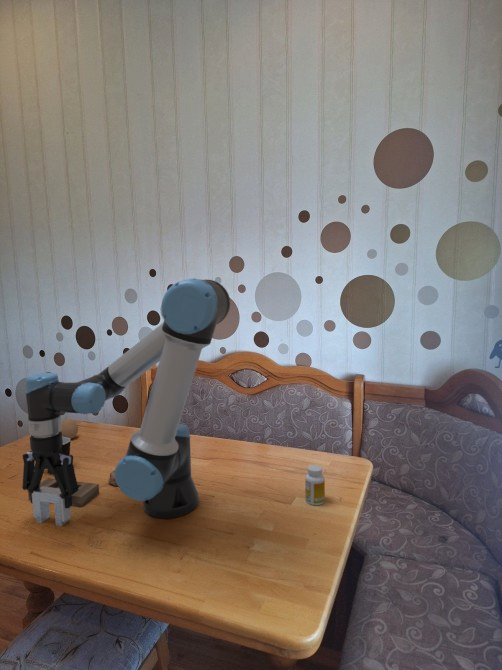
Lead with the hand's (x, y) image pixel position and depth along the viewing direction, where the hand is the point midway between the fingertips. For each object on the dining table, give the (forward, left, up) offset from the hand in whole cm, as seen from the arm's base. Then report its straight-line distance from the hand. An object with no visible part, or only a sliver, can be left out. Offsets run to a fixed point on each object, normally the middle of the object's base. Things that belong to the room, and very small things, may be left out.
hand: (52, 516), depth 111 cm
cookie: (-5, -26, -2) cm, 27 cm away
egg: (+37, -54, -1) cm, 65 cm away
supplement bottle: (-66, -26, -1) cm, 71 cm away
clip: (0, 0, -1) cm, 1 cm away
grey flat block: (+6, -12, -1) cm, 13 cm away
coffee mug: (+22, -27, -1) cm, 35 cm away
